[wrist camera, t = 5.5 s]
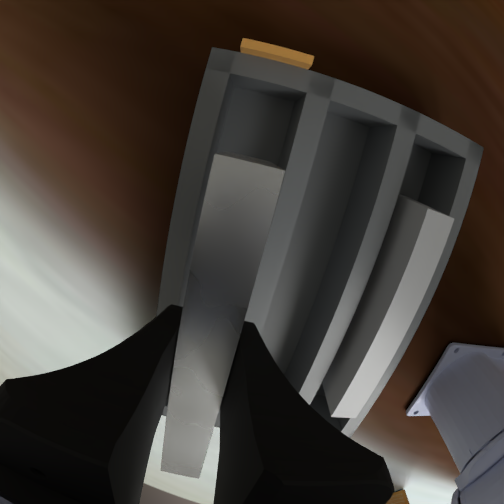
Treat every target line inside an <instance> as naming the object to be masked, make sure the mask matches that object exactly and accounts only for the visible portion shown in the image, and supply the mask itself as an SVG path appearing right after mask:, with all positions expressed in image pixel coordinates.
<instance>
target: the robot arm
mask: <svg viewBox="0 0 504 504" xmlns="http://www.w3.org/2000/svg"><path fill="white" fill-rule="evenodd" d="M182 310H183V307H181V306H177V305H173V304H171V305H169V306H167V307H166V308H165V309H164V310H163V311H162V312H161V313H160V314H159V315H158V316H156V317H155V318H154V319H153V320H152V321H151V322H149V323H148V324H147V325H145V326H144V327H143V328H142V329H140V330H139V331H138V332H136V333H135V334H133V335H132V336H130V337H129V338H127V339H126V340H124V341H123V342H121V343H120V344H118V345H116V346H115V347H113V348H111V349H109V350H108V351H106V352H104V353H102V354H100V355H98V356H96V357H93V358H91V359H88V360H86V361H83V362H81V363H78V364H76V365H73V366H70V367H67V368H63V369H60V370H57V371H53V372H49V373H45V374H40V375H34V376H28V377H21V378H15V379H6V380H5V381H4V383H3V384H2V385H1V386H0V504H139V502H140V497H141V491H142V487H143V482H144V477H145V473H146V468H147V463H148V459H149V455H150V450H151V446H152V442H153V438H154V435H155V432H156V428H157V426H158V423H159V420H160V418H161V415H162V412H163V410H164V407H165V404H166V402H167V399H168V396H169V394H170V387H171V380H172V373H173V366H174V359H175V352H176V346H177V340H178V334H179V327H180V321H181V316H182ZM406 414H407V416H430V415H431V417H432V419H433V421H434V422H435V424H436V426H437V428H438V430H439V432H440V434H441V436H442V438H443V440H444V442H445V443H446V445H447V447H448V449H449V451H450V453H451V455H452V457H453V459H454V461H455V463H456V465H457V467H458V469H459V472H460V475H459V476H458V477H457V478H456V479H455V482H456V484H457V487H458V489H456V491H455V492H454V493H453V496H452V502H451V504H504V348H499V347H489V346H480V345H471V344H462V343H450V344H449V345H448V346H447V348H446V349H445V351H444V353H443V355H442V356H441V358H440V360H439V361H438V363H437V365H436V366H435V368H434V370H433V371H432V373H431V374H430V376H429V378H428V379H427V381H426V382H425V384H424V385H423V387H422V388H421V390H420V391H419V393H418V394H417V396H416V397H415V399H414V400H413V402H412V403H411V404H410V406H409V407H408V409H407V410H406ZM393 493H394V486H393V483H392V479H391V476H390V473H389V470H388V468H387V465H386V463H385V461H384V458H383V457H381V456H379V455H377V454H376V453H374V452H372V451H370V450H369V449H367V448H365V447H363V446H362V445H360V444H358V443H356V442H355V441H353V440H352V439H350V438H349V437H348V436H346V435H345V434H343V433H342V432H341V431H339V430H338V429H337V428H335V427H334V426H333V425H331V424H330V423H329V422H328V421H327V420H325V419H324V418H323V417H322V416H321V415H320V414H319V413H318V412H316V411H315V410H314V409H313V408H312V407H311V406H310V405H309V404H308V403H307V402H306V401H305V400H304V399H303V397H302V396H301V395H300V394H299V393H298V392H297V391H296V390H295V388H294V387H293V386H292V385H291V384H290V382H289V381H288V380H287V378H286V377H285V376H284V374H283V373H282V371H281V370H280V368H279V367H278V365H277V364H276V362H275V360H274V359H273V357H272V355H271V354H270V352H269V350H268V348H267V347H266V345H265V343H264V341H263V339H262V337H261V335H260V333H259V331H258V329H257V327H256V325H255V324H254V323H253V322H248V321H244V324H243V327H242V331H241V334H240V338H239V341H238V345H237V348H236V352H235V356H234V359H233V363H232V366H231V370H230V373H229V377H228V380H227V384H226V387H225V391H224V394H223V398H222V401H221V405H220V452H219V462H218V471H217V480H216V488H215V496H214V504H386V503H387V502H388V501H389V500H390V498H391V497H392V495H393Z"/></svg>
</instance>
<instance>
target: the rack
mask: <svg viewBox="0 0 504 504" xmlns="http://www.w3.org/2000/svg"><path fill="white" fill-rule="evenodd" d="M240 49H241V52H236V51H231V50H225V49H220V48H214V47H212V49H211V53H210V56H209V60H208V63H207V66H206V70H205V73H204V77H203V81H202V84H201V88H200V92H199V95H198V99H197V103H196V107H195V111H194V115H193V119H192V123H191V127H190V131H189V135H188V140H187V144H186V148H185V153H184V157H183V162H182V167H181V171H180V176H179V181H178V186H177V191H176V196H175V201H174V206H173V211H172V217H171V222H170V228H169V234H168V240H167V246H166V252H165V258H164V264H163V271H162V278H161V285H160V292H159V300H158V307H157V315H156V316H158V315H159V314H160V313H161V312H162V311H163V310H164V309H165V308H166V307H167V306H169V305H171V304H173V305H177V306H181V307H183V304H184V298H185V293H186V287H187V282H188V276H189V271H190V266H191V261H192V256H193V250H194V245H195V240H196V236H197V231H198V226H199V221H200V216H201V212H202V207H203V203H204V198H205V194H206V189H207V185H208V180H209V176H210V172H211V167H212V163H213V159H214V155H215V154H216V153H221V152H227V151H229V152H233V153H238V154H242V155H246V156H250V157H254V158H258V159H262V160H266V161H270V162H272V163H273V164H275V165H277V166H278V167H280V168H282V169H283V170H285V174H284V177H283V181H282V185H281V189H280V192H279V196H278V200H277V203H276V207H275V211H274V215H273V218H272V222H271V226H270V229H269V233H268V237H267V240H266V244H265V248H264V251H263V255H262V259H261V262H260V266H259V270H258V273H257V277H256V280H255V284H254V288H253V291H252V295H251V298H250V302H249V306H248V309H247V313H246V316H245V320H244V321H248V322H253V323H254V324H255V325H256V327H257V329H258V331H259V333H260V335H261V337H262V339H263V341H264V343H265V345H266V347H267V348H268V350H269V352H270V354H271V355H272V357H273V359H274V360H275V362H276V364H277V365H278V367H279V368H280V370H281V371H282V373H283V374H284V376H285V377H286V378H287V380H288V381H289V382H290V384H291V385H292V386H293V387H294V388H295V390H296V391H297V392H298V393H299V394H300V395H301V396H302V397H303V399H304V400H305V401H306V402H307V403H308V404H309V405H310V406H311V407H312V408H313V409H314V410H315V411H316V412H318V413H319V414H320V415H321V416H322V417H323V418H324V419H325V420H327V421H328V422H329V423H330V424H331V425H333V426H334V427H335V428H337V429H338V430H339V431H341V432H342V433H343V434H345V435H346V436H348V437H349V438H350V437H351V436H352V434H353V433H354V431H355V430H356V429H357V427H358V426H359V424H360V423H361V422H362V420H363V419H364V417H365V416H366V414H367V413H368V411H369V410H370V408H371V407H372V405H373V404H374V402H375V401H376V399H377V398H378V396H379V394H380V393H381V391H382V390H383V388H384V387H385V385H386V383H387V382H388V380H389V378H390V377H391V375H392V373H393V372H394V370H395V368H396V367H397V365H398V363H399V361H400V360H401V358H402V356H403V354H404V352H405V351H406V349H407V347H408V345H409V343H410V341H411V340H412V338H413V336H414V334H415V332H416V330H417V328H418V326H419V324H420V322H421V320H422V318H423V316H424V314H425V312H426V310H427V308H428V306H429V304H430V301H431V299H432V297H433V295H434V293H435V290H436V288H437V286H438V284H439V281H440V279H441V277H442V274H443V272H444V270H445V267H446V265H447V262H448V260H449V257H450V255H451V252H452V250H453V247H454V244H455V242H456V239H457V236H458V233H459V231H460V228H461V225H462V222H463V219H464V216H465V213H466V210H467V207H468V204H469V200H470V197H471V194H472V190H473V187H474V183H475V180H476V176H477V173H478V169H479V165H480V161H481V157H482V153H483V147H481V146H480V145H478V144H476V143H475V142H473V141H471V140H470V139H468V138H466V137H464V136H463V135H461V134H459V133H457V132H456V131H454V130H452V129H450V128H448V127H446V126H444V125H443V124H441V123H439V122H437V121H435V120H433V119H431V118H429V117H427V116H425V115H423V114H421V113H419V112H417V111H414V110H412V109H410V108H408V107H406V106H404V105H401V104H399V103H397V102H395V101H392V100H390V99H388V98H385V97H383V96H381V95H378V94H376V93H373V92H371V91H368V90H366V89H363V88H360V87H358V86H355V85H352V84H350V83H347V82H344V81H341V80H338V79H335V78H333V77H330V76H327V75H323V74H320V73H317V72H314V71H311V70H308V69H309V68H310V67H311V66H312V63H313V59H314V56H312V55H309V54H305V53H302V52H299V51H295V50H291V49H288V48H284V47H280V46H276V45H272V44H268V43H264V42H260V41H255V40H251V39H246V38H243V39H242V42H241V46H240ZM168 402H169V396H168V399H167V402H166V404H165V407H164V410H163V412H162V415H164V416H167V409H168ZM214 427H220V408H219V412H218V415H217V418H216V422H215V425H214Z"/></svg>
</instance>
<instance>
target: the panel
mask: <svg viewBox="0 0 504 504" xmlns="http://www.w3.org/2000/svg"><path fill="white" fill-rule="evenodd" d="M284 174H285V170H283V169H282V168H280V167H278V166H277V165H275V164H273V163H272V162H270V161H266V160H262V159H258V158H254V157H250V156H246V155H242V154H238V153H233V152H229V151H227V152H221V153H216V154H215V155H214V159H213V163H212V167H211V172H210V176H209V180H208V185H207V189H206V194H205V198H204V203H203V207H202V212H201V216H200V221H199V226H198V231H197V236H196V240H195V245H194V250H193V256H192V261H191V266H190V271H189V276H188V282H187V287H186V293H185V298H184V304H183V310H182V316H181V321H180V327H179V334H178V340H177V346H176V352H175V359H174V366H173V373H172V380H171V387H170V394H169V402H168V409H167V417H166V426H165V434H164V443H163V452H162V462H161V471H165V472H169V473H174V474H178V475H183V476H188V477H193V478H199V477H200V473H201V470H202V466H203V463H204V460H205V456H206V453H207V449H208V446H209V443H210V439H211V436H212V432H213V429H214V425H215V422H216V418H217V415H218V412H219V408H220V405H221V401H222V398H223V394H224V391H225V387H226V384H227V380H228V377H229V373H230V370H231V366H232V363H233V359H234V356H235V352H236V348H237V345H238V341H239V338H240V334H241V331H242V327H243V324H244V320H245V316H246V313H247V309H248V306H249V302H250V298H251V295H252V291H253V288H254V284H255V280H256V277H257V273H258V270H259V266H260V262H261V259H262V255H263V251H264V248H265V244H266V240H267V237H268V233H269V229H270V226H271V222H272V218H273V215H274V211H275V207H276V203H277V200H278V196H279V192H280V189H281V185H282V181H283V177H284Z"/></svg>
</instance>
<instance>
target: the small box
mask: <svg viewBox="0 0 504 504" xmlns="http://www.w3.org/2000/svg"><path fill="white" fill-rule="evenodd" d="M386 504H409V501H408V498H407V495H406V493H405V490H401V491H397V492H394V493H393V495H392V497H391V498H390V500H389V501H388V502H387V503H386Z"/></svg>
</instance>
